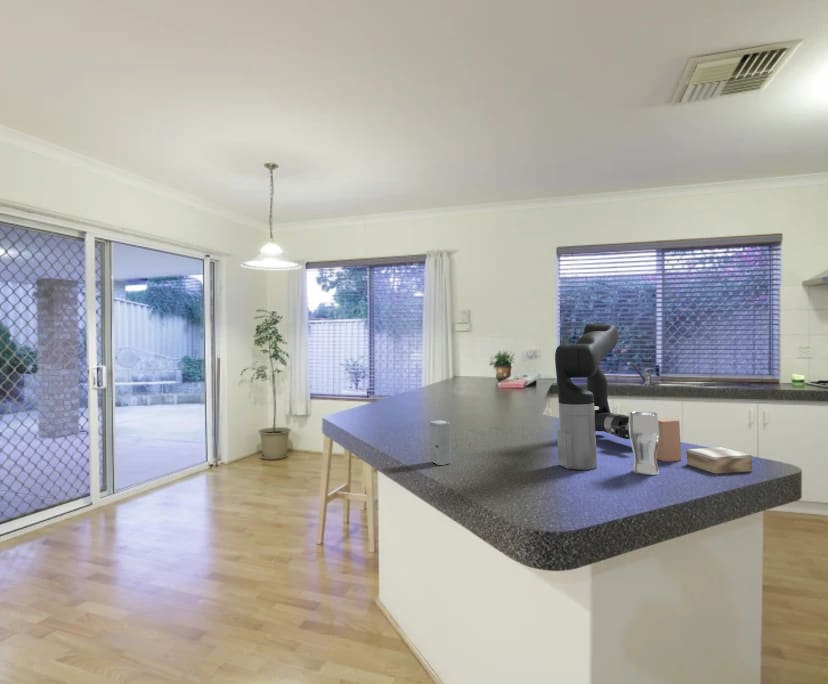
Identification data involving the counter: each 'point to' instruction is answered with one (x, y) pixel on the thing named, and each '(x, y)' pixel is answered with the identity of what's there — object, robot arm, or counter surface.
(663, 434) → the pillar
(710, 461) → the base slab
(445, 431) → the skincare box
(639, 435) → the beer glass
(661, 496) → the counter surface
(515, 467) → the counter surface
